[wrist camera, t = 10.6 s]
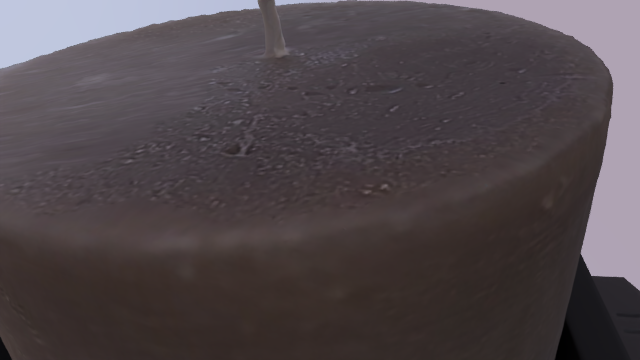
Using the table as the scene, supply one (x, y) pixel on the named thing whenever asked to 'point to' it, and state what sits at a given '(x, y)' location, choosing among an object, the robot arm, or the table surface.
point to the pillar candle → (300, 187)
